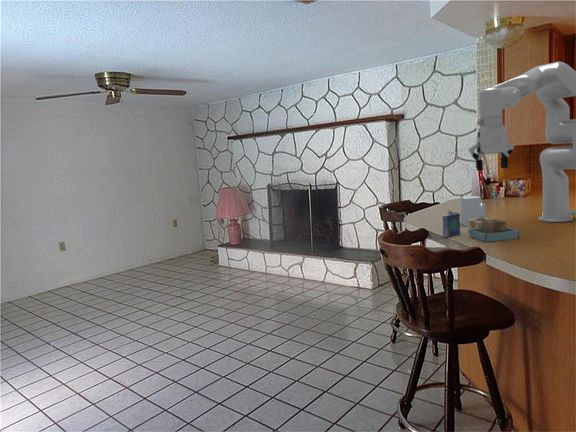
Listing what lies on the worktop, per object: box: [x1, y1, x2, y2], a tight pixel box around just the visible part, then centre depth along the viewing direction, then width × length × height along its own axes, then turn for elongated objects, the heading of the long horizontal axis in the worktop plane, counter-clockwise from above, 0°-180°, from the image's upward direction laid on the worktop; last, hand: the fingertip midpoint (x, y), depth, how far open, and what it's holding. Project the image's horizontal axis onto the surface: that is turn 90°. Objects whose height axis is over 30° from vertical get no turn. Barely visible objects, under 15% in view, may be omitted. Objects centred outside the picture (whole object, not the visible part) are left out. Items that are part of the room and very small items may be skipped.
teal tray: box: [469, 227, 520, 243], centre depth 160 cm, size 13×11×3 cm
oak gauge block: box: [467, 217, 493, 232], centre depth 172 cm, size 8×8×5 cm
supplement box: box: [460, 195, 482, 227], centre depth 189 cm, size 7×7×13 cm
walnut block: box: [482, 218, 507, 234], centre depth 160 cm, size 6×6×6 cm
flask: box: [441, 209, 461, 238], centre depth 170 cm, size 9×3×11 cm, turn 121°
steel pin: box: [478, 202, 486, 221], centre depth 172 cm, size 3×3×12 cm
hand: (492, 169), depth 157 cm, fingers open, 9 cm apart
